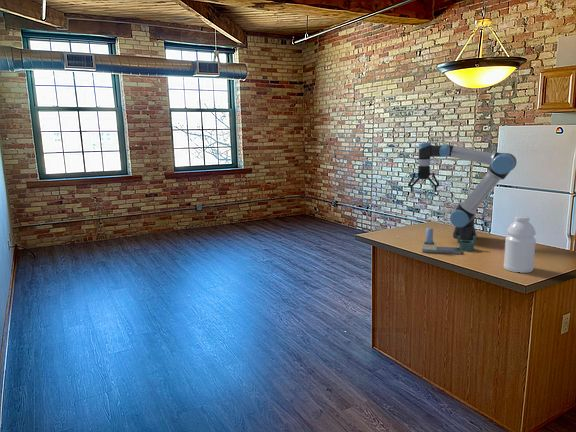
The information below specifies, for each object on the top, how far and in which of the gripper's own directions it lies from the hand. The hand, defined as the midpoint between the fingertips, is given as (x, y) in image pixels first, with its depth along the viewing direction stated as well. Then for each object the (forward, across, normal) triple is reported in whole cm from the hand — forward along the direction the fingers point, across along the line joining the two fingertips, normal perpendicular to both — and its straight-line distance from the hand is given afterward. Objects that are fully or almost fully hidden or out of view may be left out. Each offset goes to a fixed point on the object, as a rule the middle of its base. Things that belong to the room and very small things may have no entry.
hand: (423, 196), depth 288 cm
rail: (+29, -11, +35) cm, 47 cm away
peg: (+27, -4, +35) cm, 44 cm away
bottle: (+29, -48, +62) cm, 84 cm away
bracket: (+29, -26, +27) cm, 47 cm away
